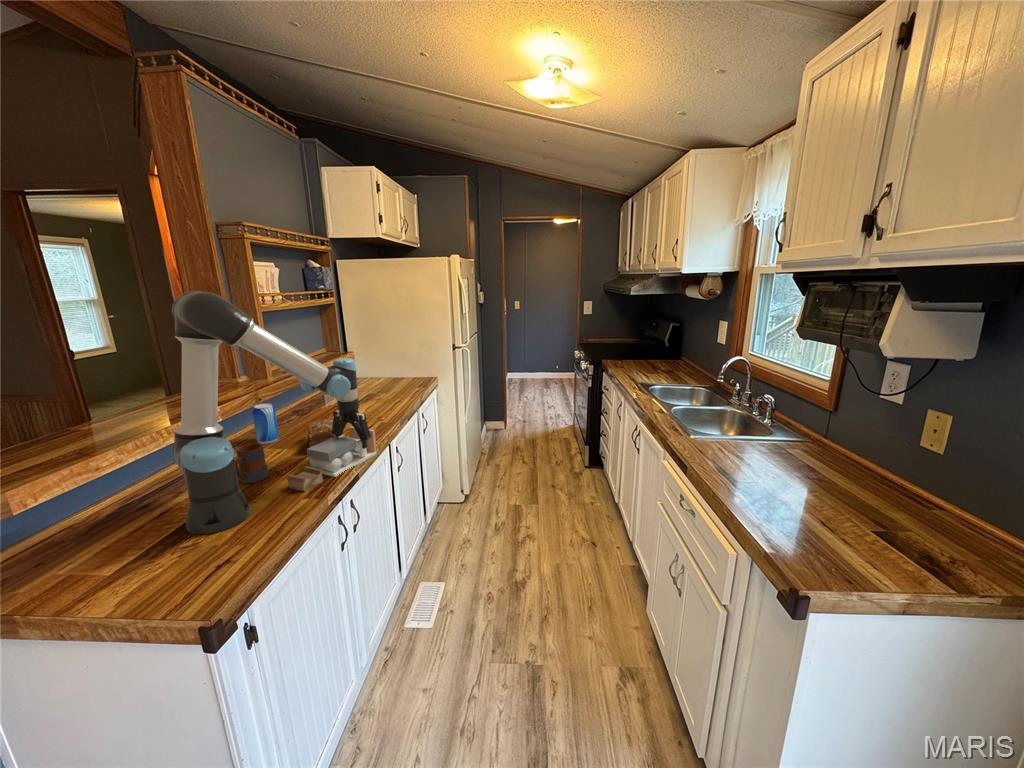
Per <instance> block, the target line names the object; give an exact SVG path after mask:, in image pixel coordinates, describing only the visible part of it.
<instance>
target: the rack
mask: <svg viewBox="0 0 1024 768" xmlns="http://www.w3.org/2000/svg"><path fill="white" fill-rule="evenodd" d="M303 469H304V471H302V472H300V473H298V474H296V475H295V474H294V475H292V474H287V476H286V477H287V483H288V488H289V489H293V490H297V491H302V492H307V491H309V490H310V489H312V488H314V487H317V485H319V484H321V483H322V482H324V480H323V474H322V470H321V469H317V468H312V467H311V466H307V465H306V466H304V468H303Z"/></svg>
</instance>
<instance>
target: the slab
mask: <svg viewBox="0 0 1024 768" xmlns="http://www.w3.org/2000/svg"><path fill="white" fill-rule="evenodd" d="M354 448H356V445H355V440H351V439H345V438H340V437H332V438H330V439H328V440H326V441H323V442H321V443H319V444H317V445H314V446H312V447H310V446H309V447H308V448H306V453H307V455H306V456H307V457H308V458H310V459H311V458H316V459H321V460H325V461H331V460H333V459H335V458H337V457H339V456H341V455H342V454H344V453H346V452H348V451H350V450H352V449H354Z"/></svg>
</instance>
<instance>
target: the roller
mask: <svg viewBox="0 0 1024 768" xmlns="http://www.w3.org/2000/svg"><path fill="white" fill-rule="evenodd" d="M340 438H345V439H351V440H355V445H356V448H354V449H352V450H350V451H354V452H359V453H360V444H359V441H360V439H356V438H350V436H345V435H344V436H342V437H340Z"/></svg>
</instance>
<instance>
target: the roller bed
mask: <svg viewBox="0 0 1024 768" xmlns="http://www.w3.org/2000/svg"><path fill="white" fill-rule="evenodd" d="M369 431H370V435H371V438H370V439H368V440H367V448H366V450H367V455H365V456H363V457H360V453H359V452H354V451H348V452H346V453H344V454H342V455H341V456H339V457H337V458H335V459H333V460H331V461H325V460H321V459H316V458H311V457H310V460H309V465H310V466H309V467H312V468H317V469H321V470H322V475H325V476H329V477H334V478H337V477H338V476H340V475H342V474H343V473H345V472H346V471H345V470H347V469H349V468H350V469H352V468H354V467H355V466H357V465H359V464H361V463H363V462H364V461H367V460H368V459H370V458H372V457H373V456H375V455H377V451H378V450H377V441H376V440H377V439H376V430H374V429H370V428H369ZM348 432H349V437H350V438H356V439H360V438H359V436H358V434H357V432H356V430H355V428H354V426H352V425H351V426H349V427H348ZM353 466H354V467H353ZM351 467H352V468H351ZM350 469H349V470H350ZM344 471H345V472H344ZM347 471H348V470H347ZM342 472H343V473H342ZM341 473H342V474H341ZM339 474H340V475H339Z"/></svg>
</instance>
